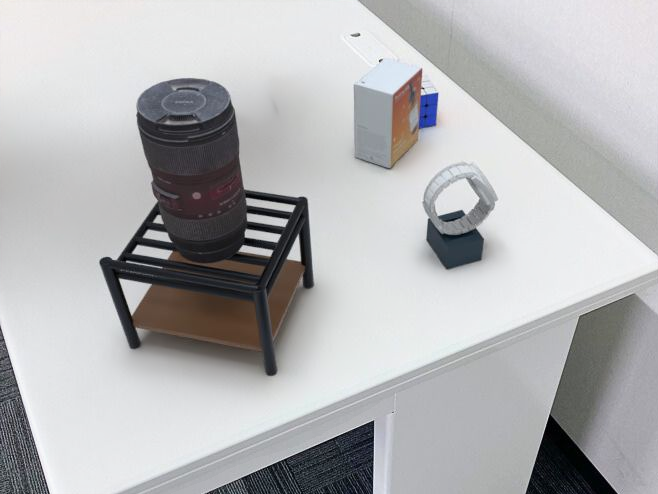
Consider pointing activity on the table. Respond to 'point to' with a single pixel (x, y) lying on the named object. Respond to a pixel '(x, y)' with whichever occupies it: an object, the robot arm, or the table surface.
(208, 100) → the camera lens
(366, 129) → the small box
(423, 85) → the rubik's cube
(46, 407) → the table surface
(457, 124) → the table surface
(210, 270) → the slatted rack
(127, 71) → the table surface
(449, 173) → the watch
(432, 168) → the table surface
